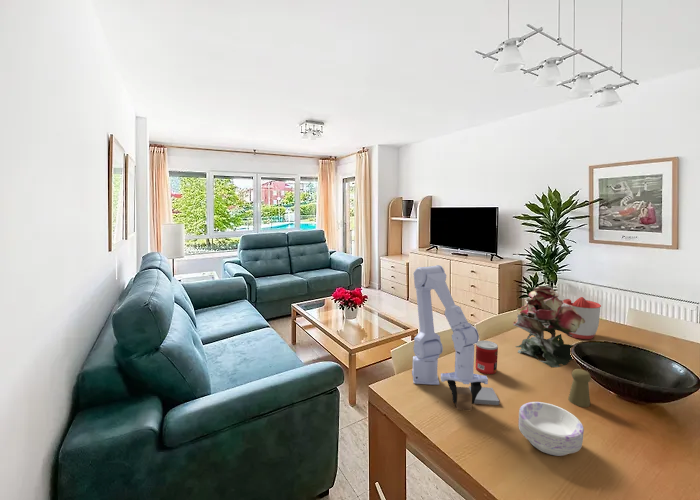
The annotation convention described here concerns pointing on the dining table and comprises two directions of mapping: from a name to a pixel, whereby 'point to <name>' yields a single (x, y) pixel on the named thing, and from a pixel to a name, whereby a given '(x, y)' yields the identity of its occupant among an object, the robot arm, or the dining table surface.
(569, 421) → the paper bowls
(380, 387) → the dining table surface
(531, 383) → the dining table surface
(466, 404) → the walnut block
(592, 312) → the citrus juicer
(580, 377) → the olive green pawn
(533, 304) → the rose bouquet
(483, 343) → the canned food
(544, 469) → the dining table surface
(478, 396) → the slate slab
